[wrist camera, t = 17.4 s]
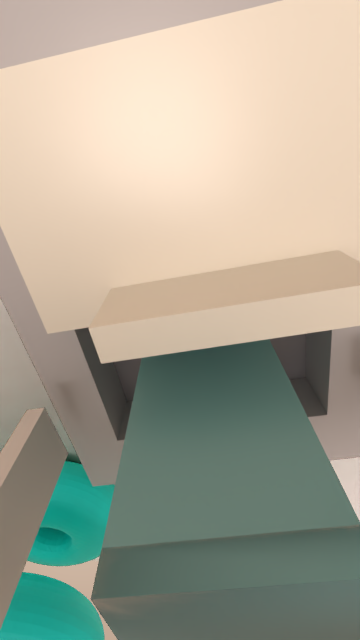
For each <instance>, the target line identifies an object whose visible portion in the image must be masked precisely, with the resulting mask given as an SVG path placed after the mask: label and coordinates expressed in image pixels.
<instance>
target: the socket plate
mask: <svg viewBox="0 0 360 640" xmlns="http://www.w3.org/2000/svg"><path fill="white" fill-rule="evenodd" d="M277 1H281V0H0V69H2V68H6V67H10V66H15V65H19V64H23V63H27V62H31V61H35V60H39V59H43V58H47V57H51V56H56V55H60V54H64V53H68V52H72V51H76V50H80V49H84V48H88V47H93V46H97V45H101V44H105V43H109V42H113V41H117V40H121V39H125V38H129V37H134V36H138V35H142V34H146V33H150V32H154V31H158V30H162V29H166V28H171V27H175V26H179V25H183V24H187V23H191V22H195V21H199V20H203V19H207V18H212V17H216V16H220V15H224V14H228V13H232V12H236V11H240V10H244V9H249V8H253V7H257V6H261V5H265V4H269V3H273V2H277ZM0 298H1V300H2V302H3V304H4V306H5V308H6V310H7V312H8V314H9V316H10V318H11V320H12V322H13V324H14V326H15V328H16V330H17V332H18V334H19V336H20V338H21V341H22V343H23V345H24V347H25V349H26V351H27V353H28V355H29V357H30V359H31V361H32V363H33V365H34V367H35V369H36V371H37V373H38V375H39V377H40V379H41V381H42V383H43V386H44V388H45V390H46V392H47V394H48V396H49V398H50V400H51V402H52V404H53V406H54V408H55V410H56V412H57V414H58V416H59V418H60V420H61V422H62V424H63V426H64V429H65V431H66V433H67V435H68V437H69V439H70V441H71V443H72V445H73V447H74V449H75V451H76V453H77V455H78V457H79V459H80V461H81V463H82V465H83V467H84V469H85V472H86V474H87V476H88V478H89V480H90V482H91V484H92V486H102V485H111V484H115V483H116V478H117V473H118V468H119V464H120V459H121V454H122V449H123V445H124V440H125V435H126V430H127V426H128V421H129V416H130V411H131V407H132V402H133V397H134V392H135V388H136V383H137V378H138V373H139V369H140V364H141V359H142V358H137V359H130V360H123V361H116V362H110V363H103V364H101V362H100V359H99V356H98V354H97V351H96V348H95V345H94V343H93V340H92V337H91V334H90V332H89V329H88V328H89V327H88V328H81V329H75V330H69V331H62V332H56V333H50V334H47V332H46V329H45V327H44V325H43V322H42V320H41V318H40V316H39V313H38V311H37V309H36V306H35V304H34V302H33V300H32V297H31V295H30V293H29V290H28V288H27V286H26V284H25V281H24V279H23V277H22V274H21V272H20V270H19V268H18V265H17V263H16V261H15V258H14V256H13V254H12V252H11V249H10V247H9V245H8V242H7V240H6V238H5V236H4V233H3V231H2V229H1V226H0ZM269 340H270V342H271V344H272V346H273V348H274V350H275V352H276V354H277V356H278V358H279V360H280V362H281V364H282V366H283V368H284V370H285V372H286V374H287V376H288V378H289V380H290V382H291V384H292V386H293V388H294V390H295V392H296V394H297V396H298V398H299V400H300V402H301V404H302V406H303V408H304V410H305V412H306V415H307V417H308V419H309V421H310V423H311V425H312V427H313V429H314V431H315V433H316V435H317V437H318V439H319V441H320V443H321V445H322V447H323V449H324V451H325V453H326V455H327V457H328V459H329V460H337V459H347V458H356V457H360V326H354V327H348V328H341V329H334V330H327V331H320V332H314V333H307V334H300V335H293V336H286V337H280V338H273V339H269Z"/></svg>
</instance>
